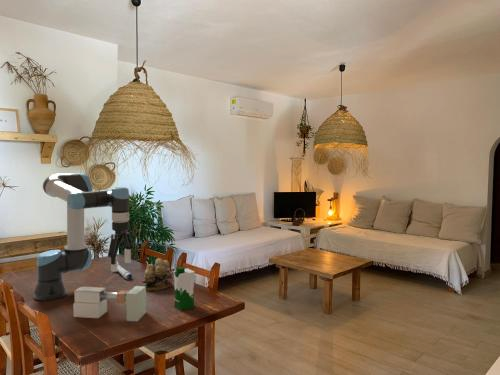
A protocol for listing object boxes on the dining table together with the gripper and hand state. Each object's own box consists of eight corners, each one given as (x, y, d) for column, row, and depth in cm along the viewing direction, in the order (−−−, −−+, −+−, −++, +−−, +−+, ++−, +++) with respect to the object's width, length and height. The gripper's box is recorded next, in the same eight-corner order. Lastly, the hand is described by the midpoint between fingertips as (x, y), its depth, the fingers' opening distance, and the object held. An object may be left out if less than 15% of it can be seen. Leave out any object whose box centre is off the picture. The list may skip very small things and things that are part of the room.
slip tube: (96, 301, 174) (95, 292, 174) (100, 298, 179) (100, 289, 178) (135, 304, 172) (135, 294, 172) (139, 300, 176) (139, 291, 176)
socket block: (126, 320, 170) (126, 293, 169) (136, 311, 180) (135, 286, 179) (137, 321, 169) (137, 293, 169) (146, 312, 179) (145, 286, 178)
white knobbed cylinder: (125, 274, 226) (110, 260, 245) (124, 285, 227) (109, 270, 246) (133, 273, 230) (118, 259, 248) (133, 283, 231) (117, 268, 249)
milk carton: (172, 306, 187) (171, 266, 186) (188, 302, 193) (187, 263, 191) (180, 312, 180) (180, 270, 179) (197, 307, 186) (196, 267, 184)
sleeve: (73, 316, 174) (73, 291, 173) (83, 310, 182) (82, 285, 181) (98, 318, 173) (97, 292, 172) (107, 311, 181) (106, 286, 180)
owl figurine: (167, 281, 225) (167, 253, 224) (177, 287, 216) (177, 257, 215) (138, 288, 214) (138, 258, 212) (148, 294, 205) (147, 262, 203)
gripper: (115, 226, 161) (116, 275, 162) (139, 217, 185) (139, 259, 187) (98, 225, 162) (99, 274, 163) (124, 216, 186) (125, 259, 188)
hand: (121, 266), depth 175 cm, fingers open, 13 cm apart
